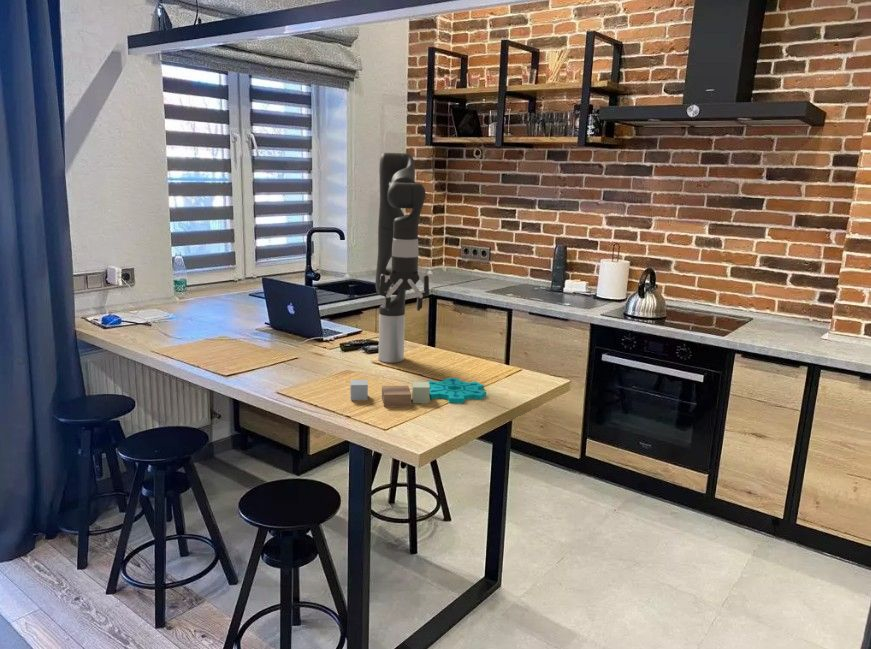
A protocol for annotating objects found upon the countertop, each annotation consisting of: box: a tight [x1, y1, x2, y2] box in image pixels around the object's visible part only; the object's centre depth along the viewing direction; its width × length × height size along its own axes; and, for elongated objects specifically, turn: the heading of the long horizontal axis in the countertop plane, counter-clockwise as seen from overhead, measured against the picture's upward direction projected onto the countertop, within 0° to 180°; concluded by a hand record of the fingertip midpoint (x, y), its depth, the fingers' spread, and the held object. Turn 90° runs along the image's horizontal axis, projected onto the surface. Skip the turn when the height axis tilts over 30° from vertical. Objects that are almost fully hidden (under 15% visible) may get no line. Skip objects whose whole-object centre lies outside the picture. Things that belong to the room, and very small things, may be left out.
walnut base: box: [381, 385, 412, 407], centre depth 196 cm, size 8×8×4 cm
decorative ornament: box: [427, 377, 487, 404], centre depth 207 cm, size 20×2×20 cm
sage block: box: [411, 381, 431, 404], centre depth 199 cm, size 5×5×5 cm
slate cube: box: [349, 379, 369, 401], centre depth 199 cm, size 5×5×5 cm
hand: (403, 310), depth 190 cm, fingers open, 8 cm apart
